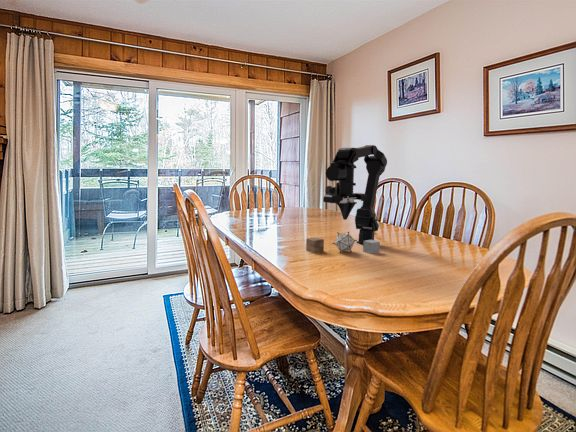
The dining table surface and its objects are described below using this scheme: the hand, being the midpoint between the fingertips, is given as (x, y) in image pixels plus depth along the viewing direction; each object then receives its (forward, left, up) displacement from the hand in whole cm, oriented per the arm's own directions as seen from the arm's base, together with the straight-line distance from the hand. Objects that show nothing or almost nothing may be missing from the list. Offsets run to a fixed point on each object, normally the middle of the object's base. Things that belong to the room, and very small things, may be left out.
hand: (344, 219), depth 141 cm
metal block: (+10, -6, -13) cm, 17 cm away
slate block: (-8, +7, -13) cm, 17 cm away
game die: (+1, +1, -13) cm, 13 cm away
